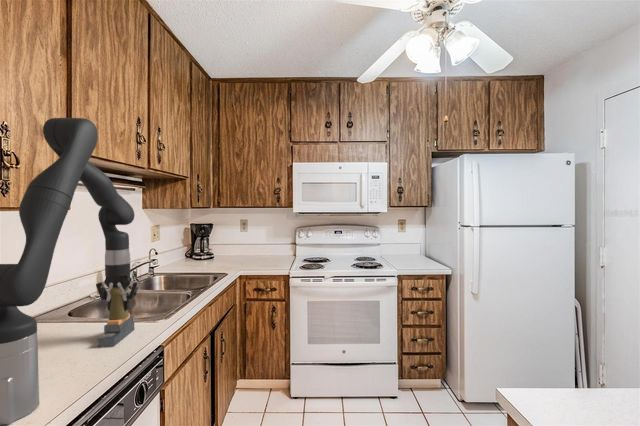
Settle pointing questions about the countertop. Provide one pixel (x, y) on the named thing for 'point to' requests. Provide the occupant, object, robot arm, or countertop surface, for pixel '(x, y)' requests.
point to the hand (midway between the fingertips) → (118, 310)
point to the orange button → (117, 321)
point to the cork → (117, 305)
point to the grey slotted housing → (115, 333)
